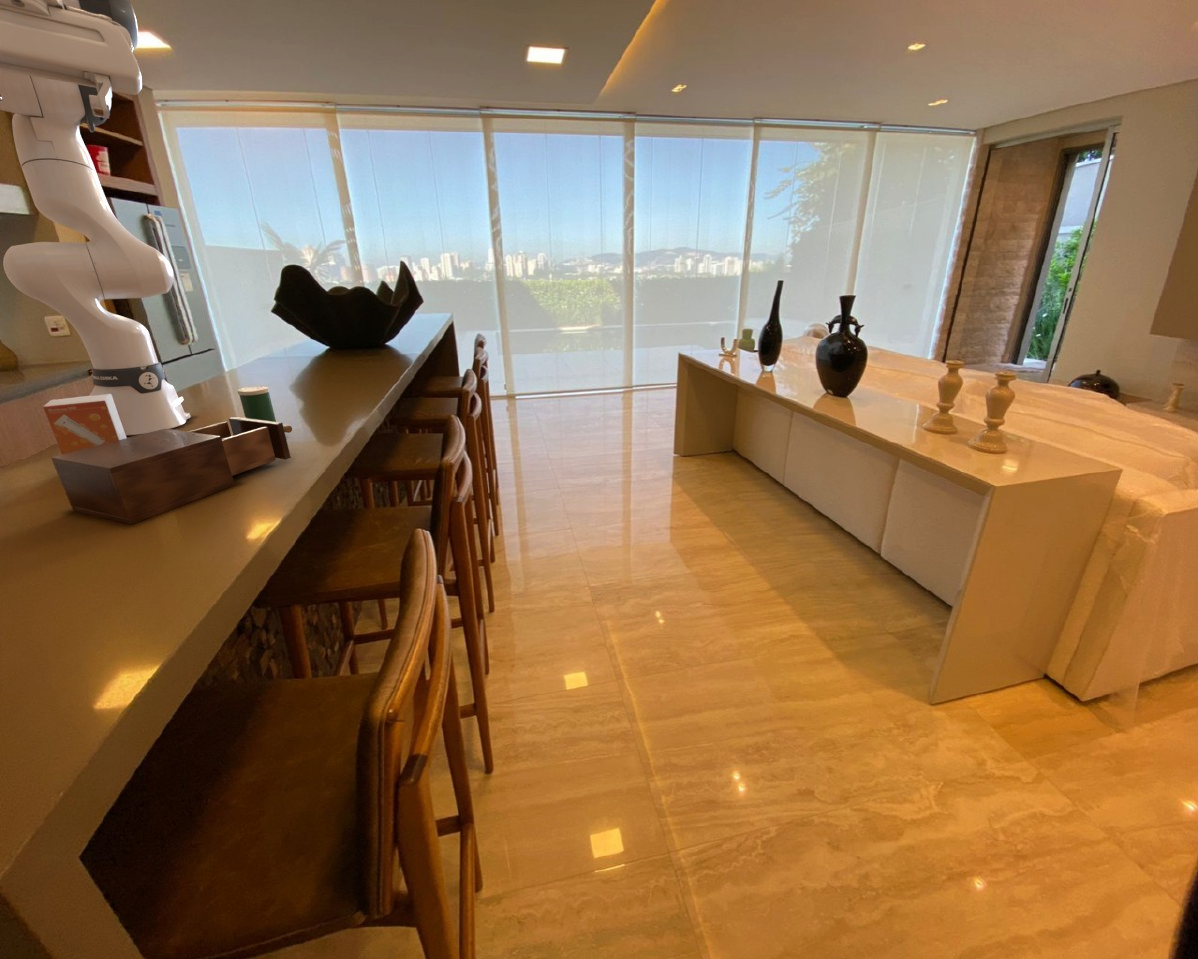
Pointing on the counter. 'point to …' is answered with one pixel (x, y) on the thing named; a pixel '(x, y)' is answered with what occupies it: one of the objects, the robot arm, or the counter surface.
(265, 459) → the drawer
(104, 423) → the small box
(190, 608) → the counter surface
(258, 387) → the ball tube
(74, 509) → the cabinet
